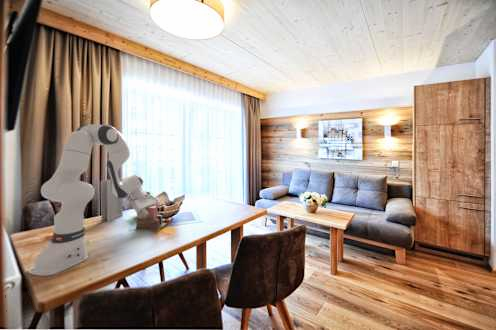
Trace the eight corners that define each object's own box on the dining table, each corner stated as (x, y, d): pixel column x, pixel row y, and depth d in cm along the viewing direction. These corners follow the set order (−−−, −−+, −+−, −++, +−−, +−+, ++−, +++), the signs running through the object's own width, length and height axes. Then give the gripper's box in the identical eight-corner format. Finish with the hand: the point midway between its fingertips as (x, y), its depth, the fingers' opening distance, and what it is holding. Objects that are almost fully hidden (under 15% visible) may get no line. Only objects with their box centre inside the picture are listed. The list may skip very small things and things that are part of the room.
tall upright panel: (107, 221, 158) (107, 181, 156) (101, 221, 160) (100, 180, 157) (122, 215, 172) (122, 178, 170) (116, 215, 173) (116, 178, 171)
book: (153, 226, 148) (153, 208, 147) (145, 225, 149) (145, 207, 148) (157, 224, 152) (157, 206, 151) (149, 223, 153) (149, 205, 152)
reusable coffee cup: (144, 212, 183) (144, 195, 182) (155, 215, 177) (155, 197, 176) (131, 216, 172) (130, 198, 170) (141, 219, 166) (141, 200, 165)
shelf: (157, 231, 144) (157, 220, 143) (135, 229, 146) (135, 218, 146) (166, 225, 155) (166, 215, 155) (146, 223, 158) (146, 213, 157)
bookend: (161, 224, 153) (161, 215, 153) (148, 222, 155) (148, 214, 154) (162, 223, 154) (162, 215, 154) (149, 222, 156) (149, 214, 156)
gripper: (132, 197, 140) (145, 213, 139) (151, 191, 160) (163, 205, 159) (126, 203, 141) (139, 219, 140) (145, 196, 161) (157, 210, 160)
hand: (152, 212), depth 150 cm, fingers open, 8 cm apart
